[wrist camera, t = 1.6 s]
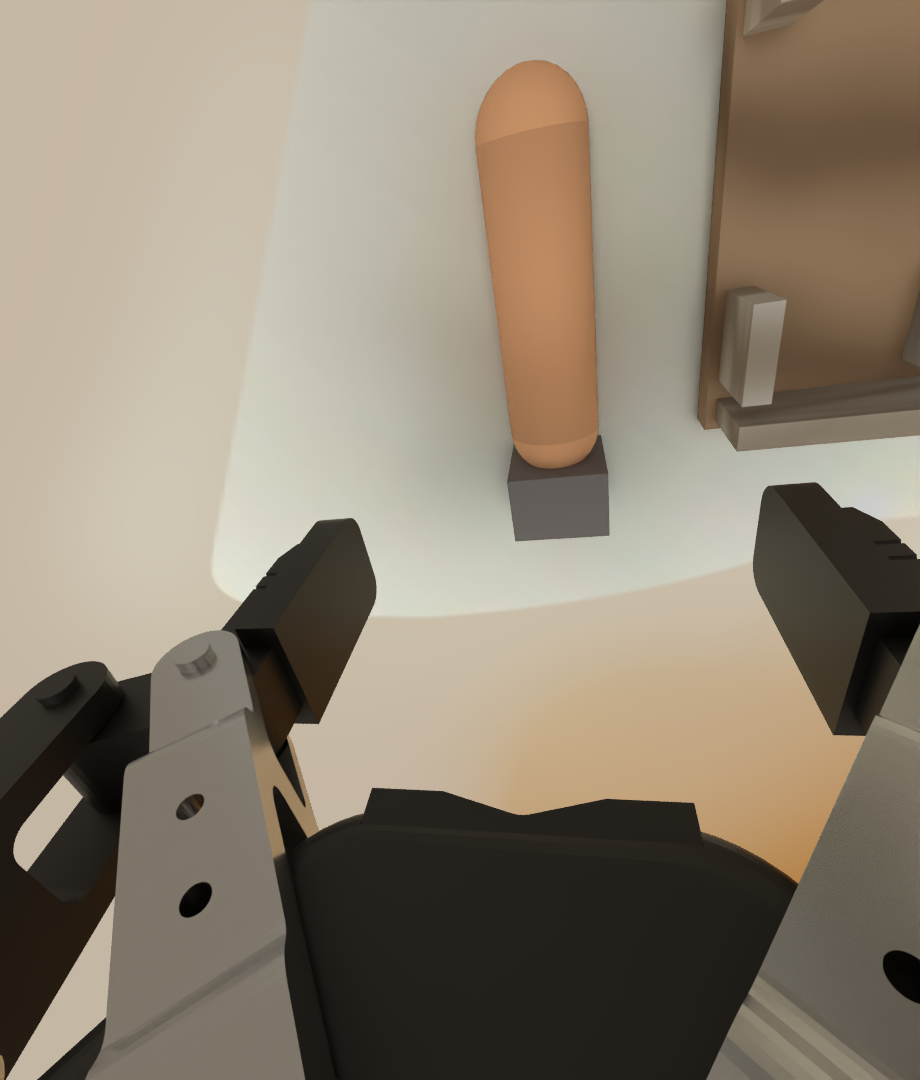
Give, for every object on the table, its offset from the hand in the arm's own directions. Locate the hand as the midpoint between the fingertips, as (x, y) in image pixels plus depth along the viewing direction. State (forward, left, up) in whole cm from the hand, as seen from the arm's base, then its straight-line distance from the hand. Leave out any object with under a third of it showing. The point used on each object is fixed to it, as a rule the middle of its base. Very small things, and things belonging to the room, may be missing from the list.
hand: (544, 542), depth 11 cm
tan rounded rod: (-1, 0, -17) cm, 17 cm away
